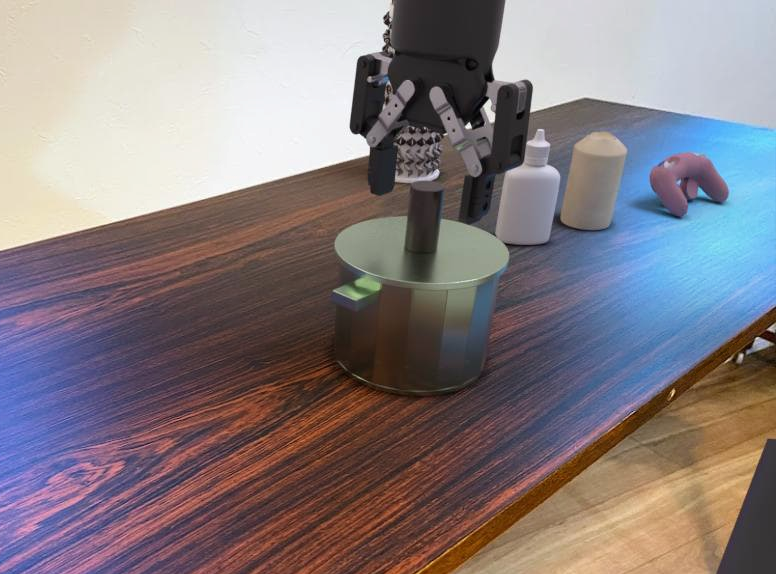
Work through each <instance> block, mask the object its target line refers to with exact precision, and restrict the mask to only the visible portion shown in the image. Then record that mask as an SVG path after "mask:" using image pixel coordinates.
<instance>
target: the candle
mask: <svg viewBox="0 0 776 574" xmlns="http://www.w3.org/2000/svg"><path fill="white" fill-rule="evenodd" d="M627 154H628V149H627V147H626V146H625V145H624V144H623V142H622V141H621V140H619V139H618V138H617V137H616V136H615V135H614V134H612V133H610V132H609V131H593V132H591V133H590V134H587V135H586V136H585V137H583V138H582V139H580V140H579V141H577V142H576V143H575V144H574V145H573V151H572V157H571V162H570V165H569V171H568V176H567V181H566V186H565V191H564V196H563V201H562V206H561V212H560V221H561V223H562V224H564V225H565V226H568V227H571V228H574V229H578V230H583V231H601V230H605V229H607V228H609V227H610V225H611V222H612V220H613V219H612V218H613V215H614V211H615V206H616V201H617V197H618V194H619V189H620V185H621V182H622V181H621V180H622V177H623V172H624V168H625V163H626V159H627Z"/></svg>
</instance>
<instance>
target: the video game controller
mask: <svg viewBox="0 0 776 574" xmlns="http://www.w3.org/2000/svg"><path fill="white" fill-rule="evenodd" d="M678 182H679V183H678ZM649 184H650V188H651V190H652V191H653V193H655V194H656V196H657V198H658V199H659V201H660V203H661V205H663V206H664V208H665V209H666V210H667V211H668V212H669V213H670V214H671V215H674V216H676V217H680V218H681V217H683V216H685V215H686V214H687V213H688V210H689V204H688V203H689V202H688V201H691V200H693V199H696V198H697V196H698V194H699V188H700V190H701V191H702V192H703V193H704V194H705V195H706V196H707V197H708V198H710V199H711V200H713V201H715V202H718V203H724V202H726V200H728V199H729V196H730V195H729V194H730V190H729V187H728V184H727V183H726V181H725V179H723V177H722V175H720V173H719V172H718V171H717V169H716V167H715V165H714V163H713V162H712V160H711V159H710V158H709V157H707V155H706V154H705V152H702V153H696V152H692V151H686V152H679V153H675V154H672V155H670V156H668V157H666V158H664V159H662V161H660V162H659V163H658V164H656V165H654V166H653V167H652V168H651V170H650V172H649Z"/></svg>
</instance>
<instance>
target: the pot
mask: <svg viewBox="0 0 776 574" xmlns="http://www.w3.org/2000/svg"><path fill="white" fill-rule="evenodd" d="M500 279H501V275H500V276H499V277H497V278H496V279H494V280H492V281H489V282H487V283H484V284H481V285H478V286H474V287H469V288H463V289H455V290H416V289H406V288H400V287H394V286H389V285H385V284H381V283H377V282H374V281H371V280H368V279H365V278H363V277H361V276H358V275H356V274H354V273H353V272H351V271H349V270H348V269H346V268H345V267H344V266H342V265H341V264H340V262H339V261H338V275H337V288H335V289H333V290H332V295H331V302H332V303H333V304H336V306H335V322H334V336H333V337H334V338H333V347H334V349H333V350H334V353H333V356H334V360H335V362H336V365H337V366H338V368H339V369H340V371H342V372H343V373H344V374H345V375H346V376H347V377H349V378H350V379H352V380H353V381H356V382H357V383H359V384H360V385H363V386H366V387H368V388H370V389H374V390H377V391H380V392H384V393H388V394H393V395H398V396H399V395H401V396H406V397H407V396H408V397H432V396H440V395H446V394H451V393H455V392H458V391H460V390H463V389H465V388H468V387H469V386H471V385H472V384H474V383H475V382H476V381H477V380H478V379H479V378H480V377H481V375H482V373H483V371H484V367H485V364H486V361H487V356H488V351H489V345H490V339H491V333H492V326H493V321H494V315H495V309H496V303H497V298H498V292H499V285H500V281H501V280H500Z"/></svg>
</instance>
